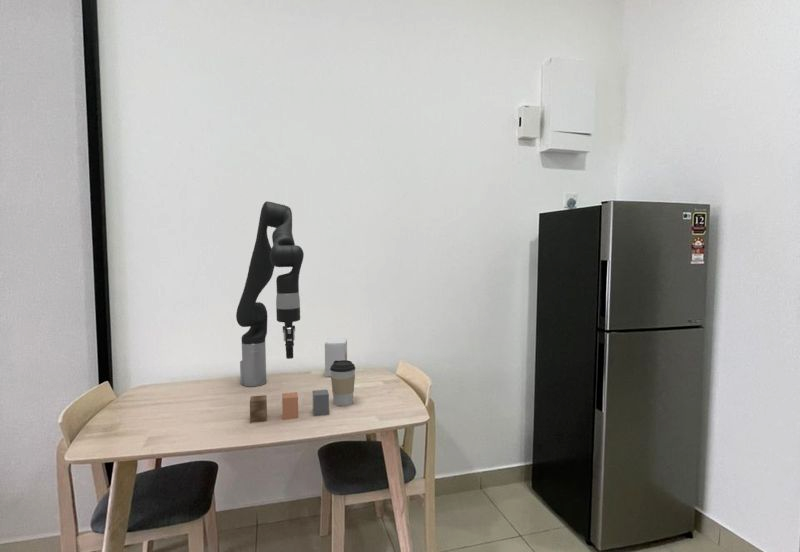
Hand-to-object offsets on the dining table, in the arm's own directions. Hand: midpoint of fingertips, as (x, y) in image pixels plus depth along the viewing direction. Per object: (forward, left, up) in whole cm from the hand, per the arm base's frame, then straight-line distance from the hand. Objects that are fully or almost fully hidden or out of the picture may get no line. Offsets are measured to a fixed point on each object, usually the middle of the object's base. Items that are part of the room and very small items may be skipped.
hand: (289, 355), depth 143 cm
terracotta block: (0, 0, -21) cm, 21 cm away
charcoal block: (+8, +5, -21) cm, 23 cm away
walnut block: (-9, -5, -21) cm, 23 cm away
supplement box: (-5, +47, -21) cm, 51 cm away
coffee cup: (+12, +16, -21) cm, 29 cm away
